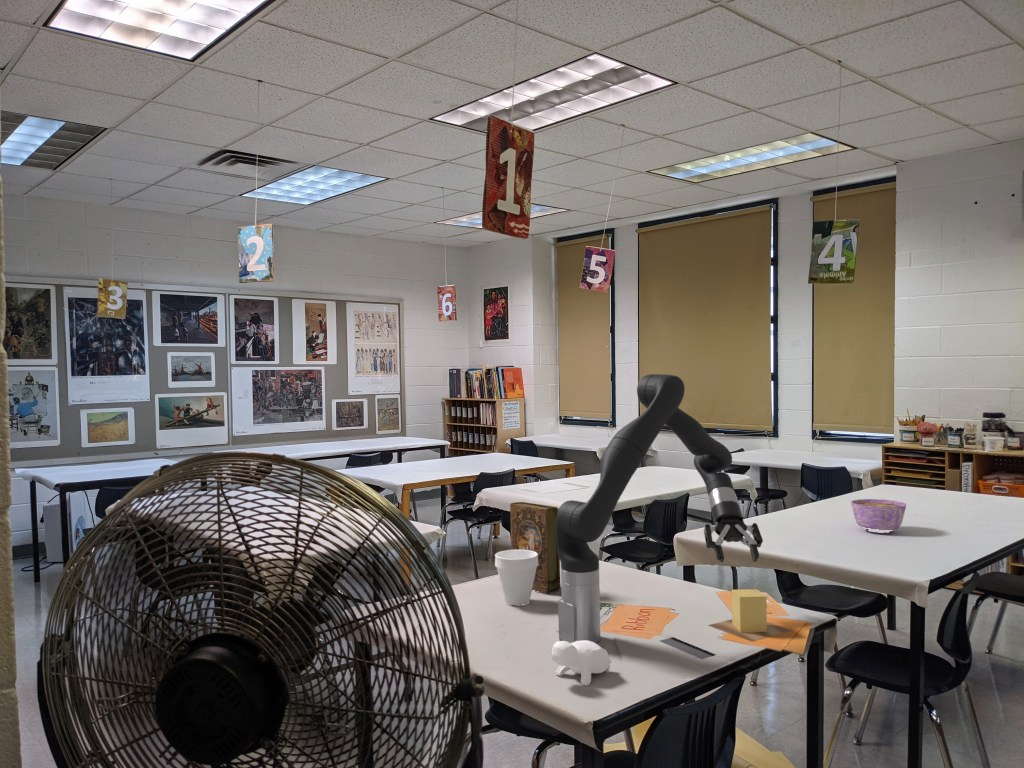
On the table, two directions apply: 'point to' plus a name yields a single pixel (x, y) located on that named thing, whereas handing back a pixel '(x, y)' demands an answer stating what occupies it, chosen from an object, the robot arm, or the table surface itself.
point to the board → (750, 636)
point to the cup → (516, 574)
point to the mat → (687, 648)
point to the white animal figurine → (580, 659)
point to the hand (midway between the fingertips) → (738, 560)
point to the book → (537, 541)
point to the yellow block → (749, 610)
